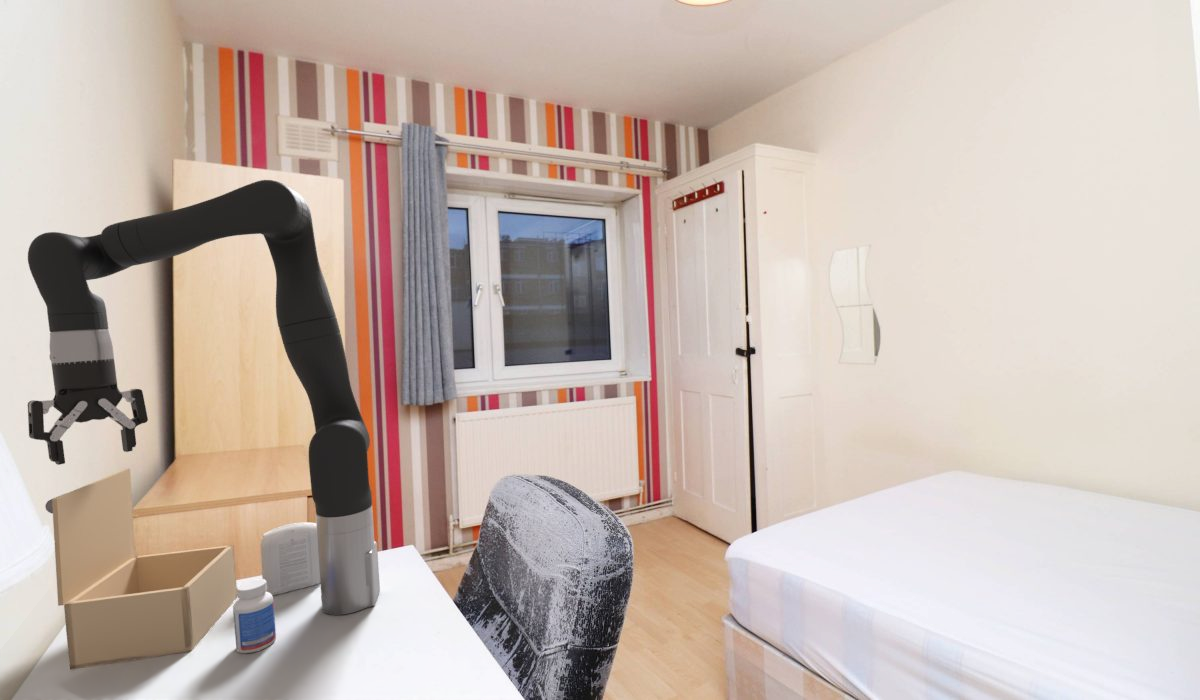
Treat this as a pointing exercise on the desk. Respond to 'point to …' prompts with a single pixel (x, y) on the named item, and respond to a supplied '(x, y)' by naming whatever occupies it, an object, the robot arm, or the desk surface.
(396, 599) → the desk surface
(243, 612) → the pill bottle
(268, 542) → the photo printer
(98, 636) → the carton
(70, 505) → the carton lid
